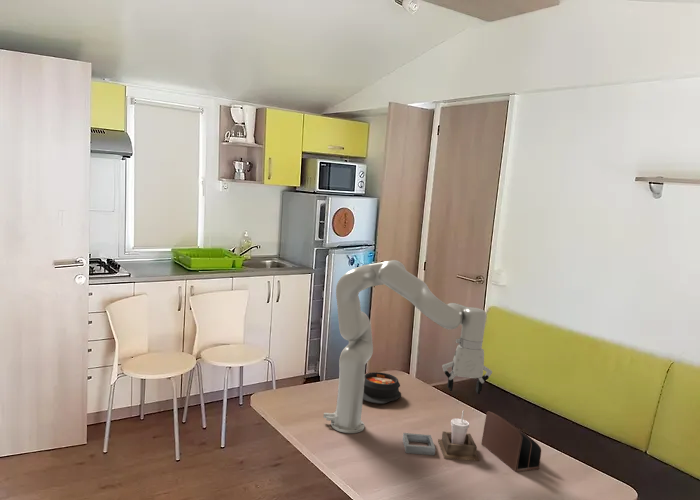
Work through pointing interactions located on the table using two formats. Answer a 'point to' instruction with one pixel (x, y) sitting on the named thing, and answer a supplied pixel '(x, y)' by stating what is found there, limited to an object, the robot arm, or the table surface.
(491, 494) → the table surface
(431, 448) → the holder
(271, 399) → the table surface
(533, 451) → the letter holder
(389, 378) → the casserole
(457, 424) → the smoothie
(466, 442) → the socket
